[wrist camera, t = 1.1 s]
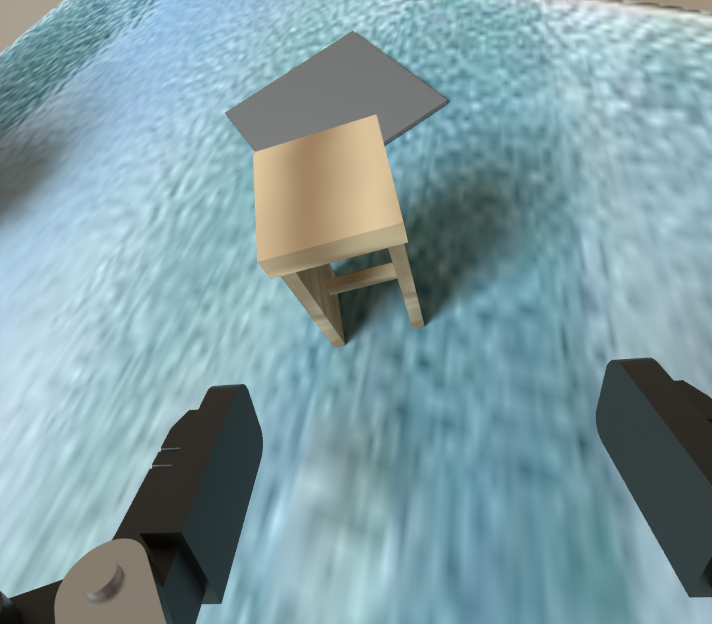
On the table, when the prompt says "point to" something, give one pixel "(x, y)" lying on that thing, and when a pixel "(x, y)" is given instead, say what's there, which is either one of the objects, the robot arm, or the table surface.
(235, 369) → the table surface
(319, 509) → the table surface
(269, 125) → the charcoal mat
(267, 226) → the pine stool
